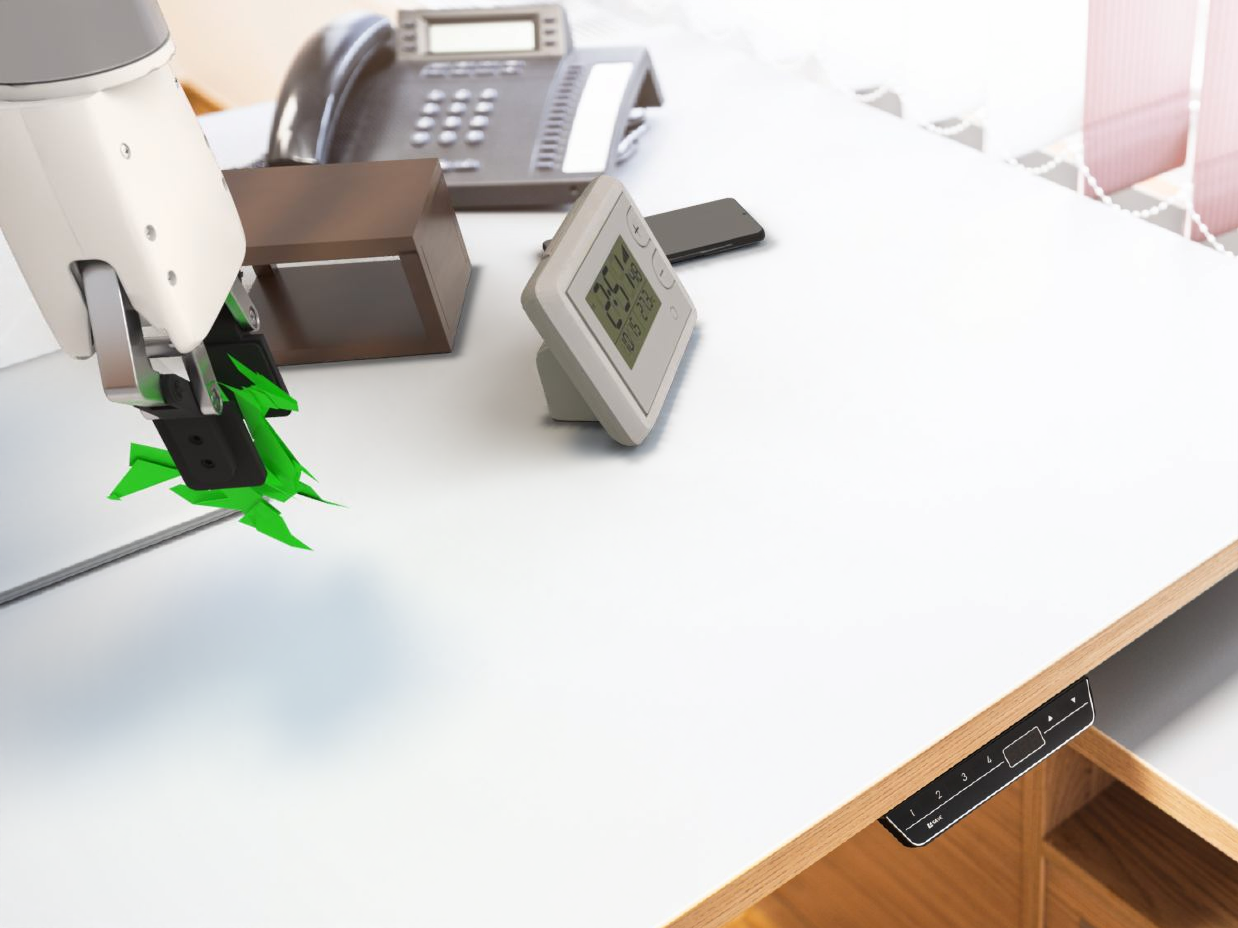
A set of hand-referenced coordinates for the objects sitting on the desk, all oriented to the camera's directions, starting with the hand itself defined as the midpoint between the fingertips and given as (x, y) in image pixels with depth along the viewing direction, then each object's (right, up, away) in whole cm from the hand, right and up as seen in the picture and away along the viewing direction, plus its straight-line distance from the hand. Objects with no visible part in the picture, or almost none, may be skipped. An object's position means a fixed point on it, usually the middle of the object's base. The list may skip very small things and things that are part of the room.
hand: (242, 445), depth 60 cm
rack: (-11, +15, +31) cm, 36 cm away
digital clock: (+10, +9, +25) cm, 28 cm away
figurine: (0, -3, +3) cm, 4 cm away
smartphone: (+7, +22, +39) cm, 45 cm away
